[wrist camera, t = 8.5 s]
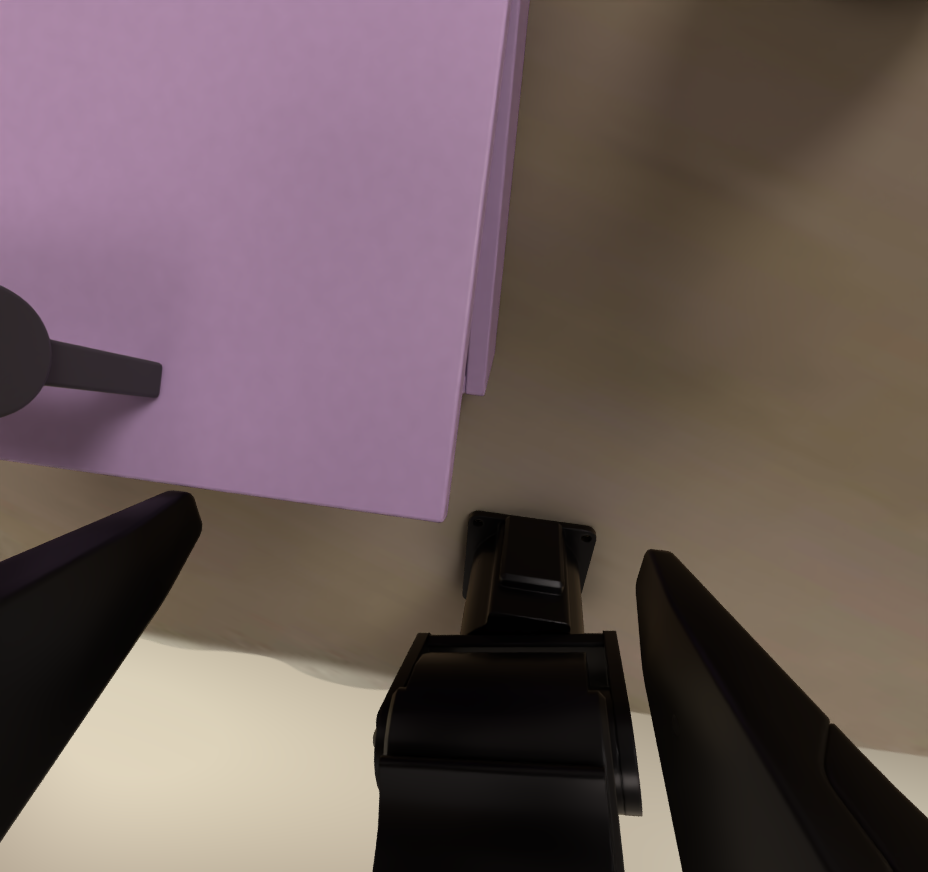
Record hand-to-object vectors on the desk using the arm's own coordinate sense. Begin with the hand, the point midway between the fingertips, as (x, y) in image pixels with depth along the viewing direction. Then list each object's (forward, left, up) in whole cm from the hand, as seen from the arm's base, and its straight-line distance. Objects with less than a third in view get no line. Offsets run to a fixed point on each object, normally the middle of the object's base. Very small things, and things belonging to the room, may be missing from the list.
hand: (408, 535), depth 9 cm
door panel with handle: (+7, +8, -4) cm, 11 cm away
